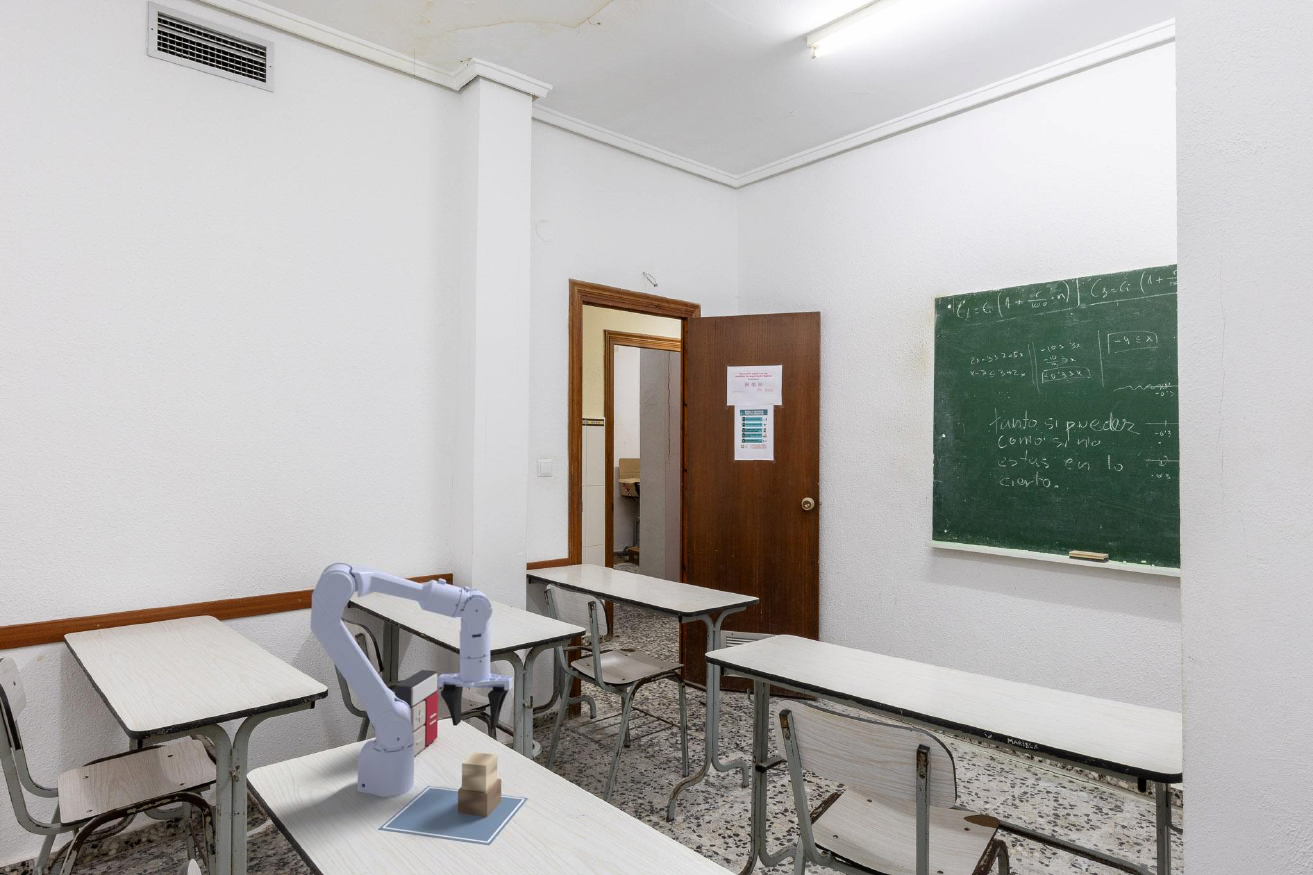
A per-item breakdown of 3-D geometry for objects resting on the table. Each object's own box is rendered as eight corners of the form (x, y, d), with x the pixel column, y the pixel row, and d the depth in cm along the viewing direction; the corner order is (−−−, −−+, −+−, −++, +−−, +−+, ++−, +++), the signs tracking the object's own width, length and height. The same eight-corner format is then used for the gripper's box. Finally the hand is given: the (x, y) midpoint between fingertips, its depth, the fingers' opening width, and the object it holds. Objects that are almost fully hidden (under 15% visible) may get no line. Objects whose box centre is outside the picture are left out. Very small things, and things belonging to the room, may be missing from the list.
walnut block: (457, 813, 123) (458, 789, 123) (472, 797, 128) (473, 775, 128) (487, 816, 121) (487, 793, 122) (501, 801, 127) (501, 778, 127)
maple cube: (461, 789, 123) (462, 763, 123) (473, 777, 127) (473, 752, 127) (485, 791, 122) (486, 765, 122) (497, 780, 126) (497, 754, 127)
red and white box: (412, 760, 145) (413, 686, 145) (393, 758, 146) (394, 685, 146) (439, 739, 156) (440, 670, 156) (421, 737, 157) (422, 669, 157)
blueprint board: (378, 833, 117) (378, 828, 117) (428, 790, 133) (428, 785, 133) (489, 849, 113) (489, 844, 113) (528, 802, 128) (528, 797, 128)
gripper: (430, 659, 135) (430, 730, 135) (503, 661, 132) (503, 735, 132) (446, 648, 142) (447, 716, 142) (516, 650, 139) (517, 720, 139)
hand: (475, 724), depth 137 cm, fingers open, 7 cm apart
